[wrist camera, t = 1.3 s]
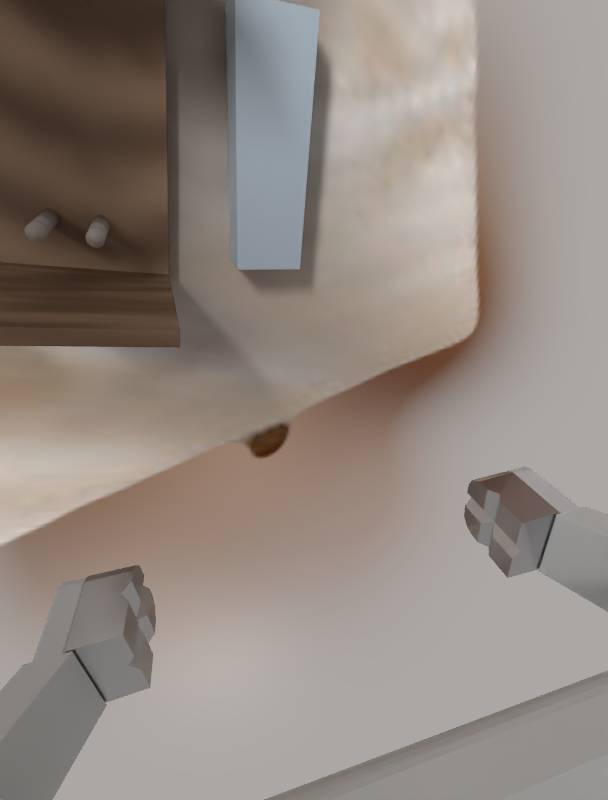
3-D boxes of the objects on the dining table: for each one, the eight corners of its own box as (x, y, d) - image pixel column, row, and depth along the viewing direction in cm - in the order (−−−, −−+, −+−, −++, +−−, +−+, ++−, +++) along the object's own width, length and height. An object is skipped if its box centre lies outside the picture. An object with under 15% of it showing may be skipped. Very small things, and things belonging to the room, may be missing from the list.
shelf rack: (-128, -201, 20) (-443, -586, 9) (162, -88, 25) (180, -250, 14) (-10, 271, 32) (-85, 344, 22) (168, 283, 38) (179, 347, 27)
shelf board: (224, 5, 29) (235, -9, 26) (301, 21, 31) (320, 9, 27) (229, 258, 39) (237, 269, 35) (287, 258, 40) (299, 269, 37)
